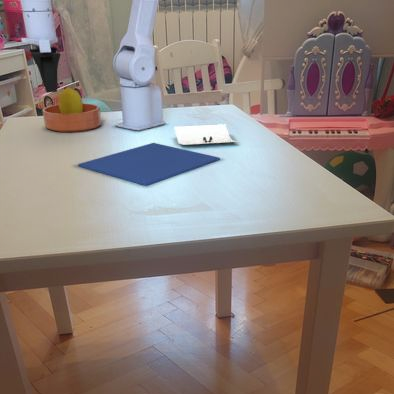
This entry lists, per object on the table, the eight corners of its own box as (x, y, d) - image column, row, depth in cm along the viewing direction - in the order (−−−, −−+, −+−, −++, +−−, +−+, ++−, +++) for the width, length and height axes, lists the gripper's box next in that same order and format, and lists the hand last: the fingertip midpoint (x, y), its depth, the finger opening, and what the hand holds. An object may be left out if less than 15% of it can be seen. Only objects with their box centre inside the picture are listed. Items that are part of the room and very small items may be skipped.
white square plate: (183, 150, 100) (182, 140, 99) (174, 136, 110) (174, 126, 109) (240, 147, 102) (240, 137, 101) (226, 133, 112) (226, 124, 111)
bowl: (78, 118, 126) (76, 101, 124) (112, 125, 119) (110, 107, 117) (34, 127, 118) (31, 109, 116) (68, 136, 111) (65, 116, 109)
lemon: (87, 121, 120) (83, 85, 116) (81, 127, 116) (76, 89, 111) (65, 121, 121) (60, 85, 116) (58, 126, 116) (52, 88, 112)
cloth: (153, 144, 104) (153, 142, 104) (219, 159, 95) (219, 157, 95) (78, 166, 92) (78, 164, 92) (145, 186, 83) (145, 183, 82)
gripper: (15, 10, 101) (29, 84, 109) (16, 13, 90) (32, 95, 98) (50, 9, 102) (62, 83, 111) (56, 12, 91) (68, 93, 99)
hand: (50, 89), depth 104 cm, fingers open, 7 cm apart
